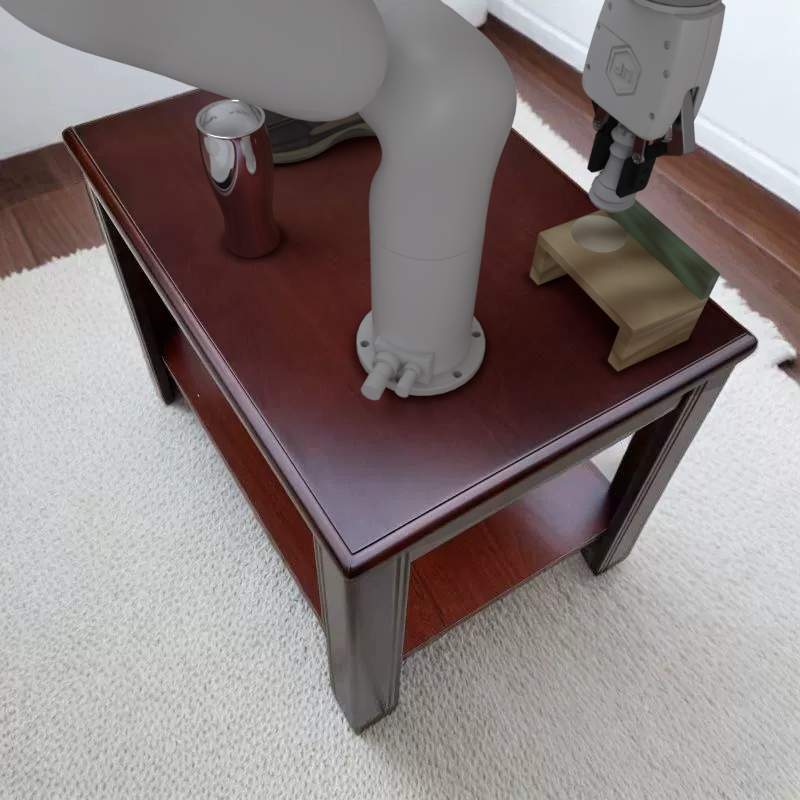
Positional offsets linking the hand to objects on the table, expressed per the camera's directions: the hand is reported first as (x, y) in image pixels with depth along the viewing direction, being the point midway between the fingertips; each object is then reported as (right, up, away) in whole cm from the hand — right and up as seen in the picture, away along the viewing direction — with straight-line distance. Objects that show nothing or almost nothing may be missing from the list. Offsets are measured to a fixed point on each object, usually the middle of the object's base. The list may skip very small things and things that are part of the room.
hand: (616, 178), depth 69 cm
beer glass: (-37, -3, +13) cm, 39 cm away
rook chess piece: (0, -2, +2) cm, 3 cm away
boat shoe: (-30, +14, +26) cm, 42 cm away
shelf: (+1, -11, +7) cm, 13 cm away
